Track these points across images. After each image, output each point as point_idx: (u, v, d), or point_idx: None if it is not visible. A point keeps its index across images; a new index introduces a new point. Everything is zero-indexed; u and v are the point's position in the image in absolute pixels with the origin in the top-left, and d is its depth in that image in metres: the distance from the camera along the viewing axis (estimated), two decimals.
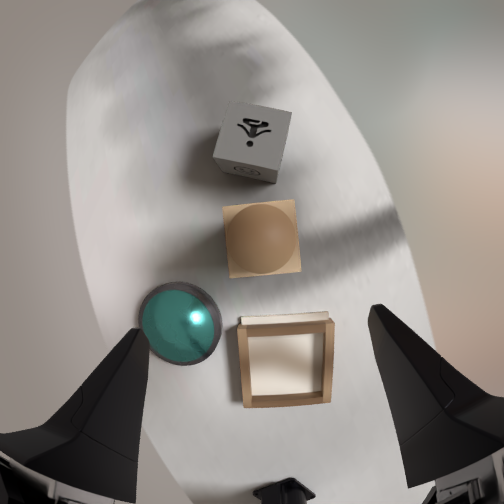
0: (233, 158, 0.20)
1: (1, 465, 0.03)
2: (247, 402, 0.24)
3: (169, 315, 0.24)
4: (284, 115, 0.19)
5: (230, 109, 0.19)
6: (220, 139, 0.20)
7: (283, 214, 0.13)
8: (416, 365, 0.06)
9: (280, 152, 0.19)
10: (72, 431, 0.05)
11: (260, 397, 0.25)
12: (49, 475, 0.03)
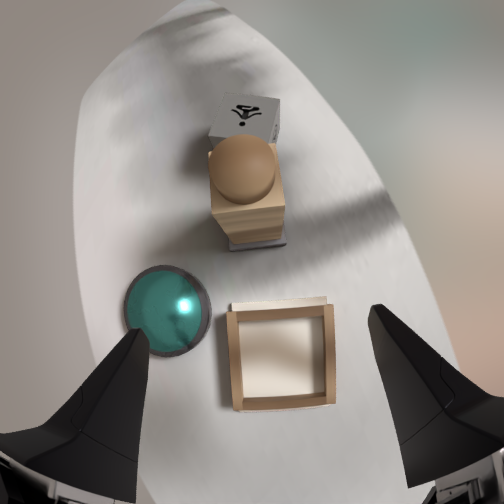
0: (227, 135, 0.21)
1: (1, 465, 0.03)
2: (237, 403, 0.20)
3: (155, 298, 0.22)
4: (273, 101, 0.21)
5: (225, 98, 0.22)
6: (215, 121, 0.21)
7: (262, 141, 0.14)
8: (416, 365, 0.06)
9: (270, 129, 0.21)
10: (72, 430, 0.05)
11: (253, 398, 0.21)
12: (49, 475, 0.03)
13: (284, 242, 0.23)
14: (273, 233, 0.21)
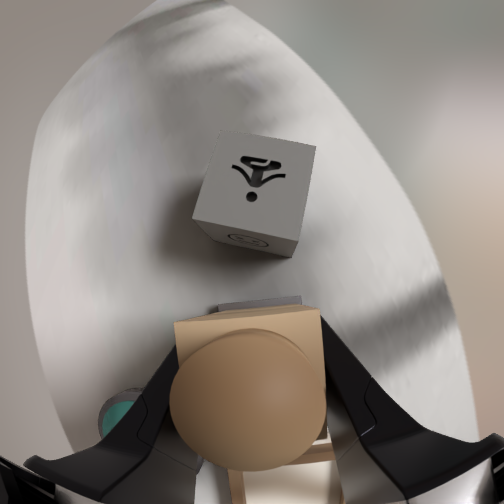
0: (225, 221, 0.12)
1: (1, 465, 0.03)
2: None
3: None
4: (305, 151, 0.13)
5: (221, 143, 0.13)
6: (205, 190, 0.13)
7: (298, 361, 0.05)
8: (338, 384, 0.06)
9: (301, 210, 0.12)
10: (142, 447, 0.05)
11: None
12: None
13: None
14: None
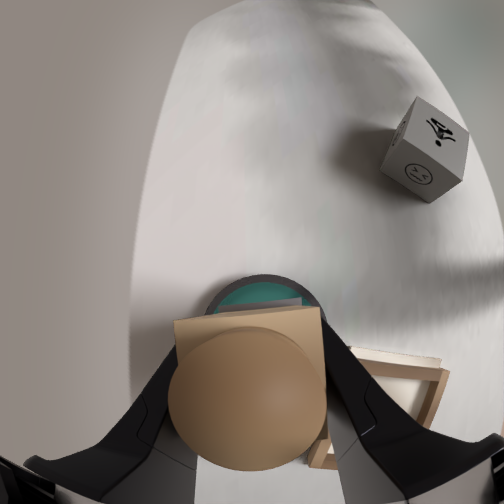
0: (424, 149, 0.14)
1: (1, 465, 0.03)
2: (318, 461, 0.14)
3: None
4: (464, 132, 0.14)
5: (419, 103, 0.15)
6: (410, 125, 0.14)
7: (298, 358, 0.05)
8: (338, 384, 0.06)
9: (463, 164, 0.14)
10: (142, 447, 0.05)
11: (333, 456, 0.15)
12: None
13: None
14: None
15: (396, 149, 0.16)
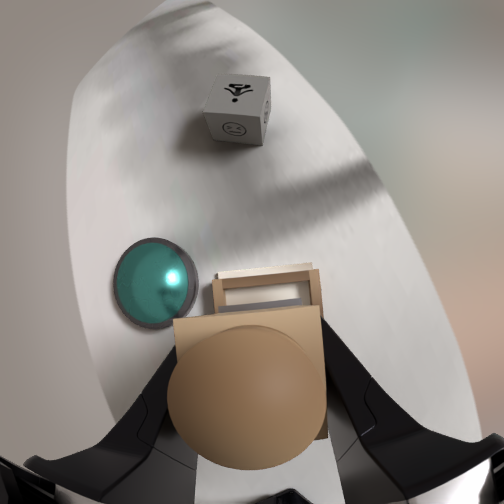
0: (220, 111, 0.21)
1: (1, 465, 0.03)
2: None
3: (143, 270, 0.23)
4: (263, 79, 0.21)
5: (218, 79, 0.22)
6: (209, 99, 0.21)
7: (298, 355, 0.05)
8: (338, 384, 0.06)
9: (261, 104, 0.21)
10: (142, 447, 0.05)
11: None
12: None
13: None
14: None
15: (206, 120, 0.23)
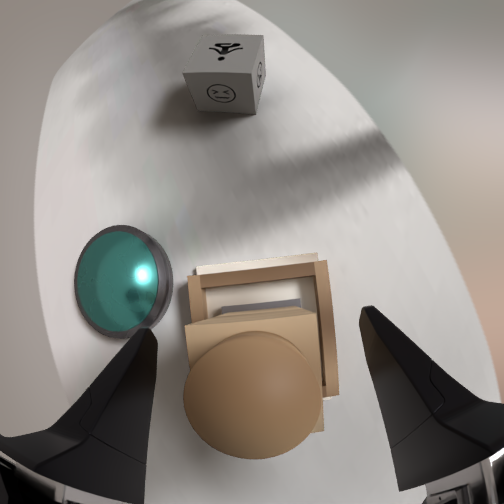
0: (203, 70, 0.16)
1: (1, 465, 0.03)
2: None
3: (106, 265, 0.17)
4: (256, 37, 0.16)
5: (202, 40, 0.17)
6: (191, 60, 0.16)
7: (297, 360, 0.06)
8: (405, 368, 0.06)
9: (253, 60, 0.16)
10: (81, 433, 0.05)
11: None
12: (58, 480, 0.03)
13: None
14: None
15: (188, 84, 0.17)
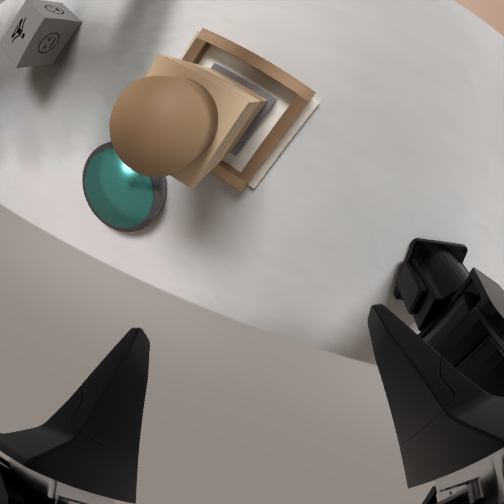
0: (23, 51, 0.10)
1: (1, 465, 0.03)
2: (236, 182, 0.19)
3: (104, 188, 0.20)
4: (25, 5, 0.08)
5: (3, 45, 0.10)
6: (11, 58, 0.11)
7: (143, 80, 0.07)
8: (416, 365, 0.06)
9: (38, 13, 0.09)
10: (73, 430, 0.05)
11: (246, 164, 0.19)
12: (49, 475, 0.03)
13: (274, 100, 0.16)
14: (258, 109, 0.14)
15: (27, 65, 0.12)
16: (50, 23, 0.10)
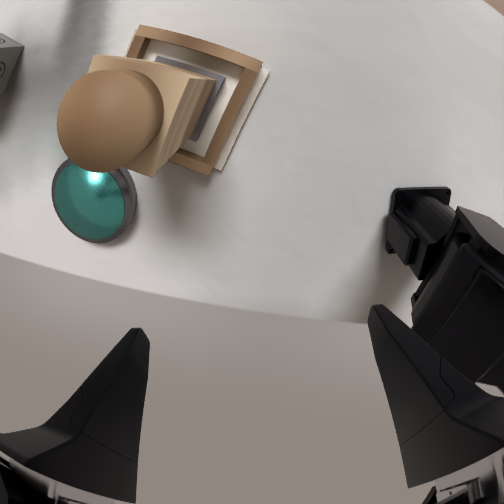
0: None
1: (1, 465, 0.03)
2: (201, 167, 0.18)
3: (75, 204, 0.19)
4: None
5: None
6: None
7: (81, 80, 0.06)
8: (416, 365, 0.06)
9: None
10: (72, 431, 0.05)
11: None
12: (49, 475, 0.03)
13: (222, 78, 0.15)
14: (207, 89, 0.13)
15: None
16: None
